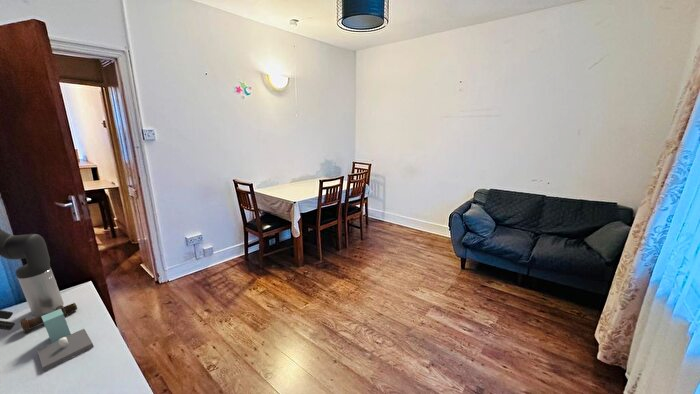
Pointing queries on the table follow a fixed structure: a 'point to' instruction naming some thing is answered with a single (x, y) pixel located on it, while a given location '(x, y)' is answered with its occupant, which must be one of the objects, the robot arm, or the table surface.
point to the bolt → (38, 320)
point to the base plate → (64, 349)
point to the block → (56, 325)
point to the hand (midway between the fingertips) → (12, 321)
